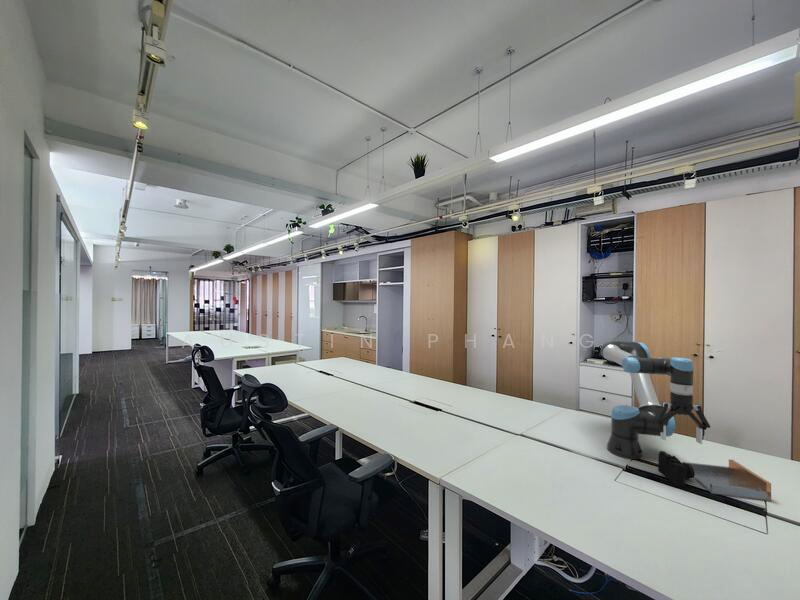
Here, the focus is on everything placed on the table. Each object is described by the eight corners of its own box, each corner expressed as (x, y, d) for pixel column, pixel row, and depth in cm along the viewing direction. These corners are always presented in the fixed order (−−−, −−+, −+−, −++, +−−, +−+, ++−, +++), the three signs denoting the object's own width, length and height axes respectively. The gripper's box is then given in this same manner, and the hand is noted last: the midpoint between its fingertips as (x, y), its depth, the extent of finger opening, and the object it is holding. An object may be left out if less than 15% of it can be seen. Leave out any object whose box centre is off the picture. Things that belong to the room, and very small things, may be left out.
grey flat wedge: (712, 493, 131) (712, 476, 131) (682, 469, 149) (682, 454, 149) (771, 501, 126) (771, 483, 126) (732, 475, 145) (732, 459, 145)
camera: (703, 489, 133) (704, 465, 133) (675, 486, 135) (675, 463, 135) (681, 472, 147) (681, 450, 147) (655, 469, 149) (655, 448, 149)
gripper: (653, 393, 141) (653, 441, 140) (721, 397, 135) (721, 448, 135) (644, 388, 148) (644, 434, 148) (708, 393, 142) (708, 440, 142)
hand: (680, 441), depth 141 cm, fingers open, 13 cm apart
